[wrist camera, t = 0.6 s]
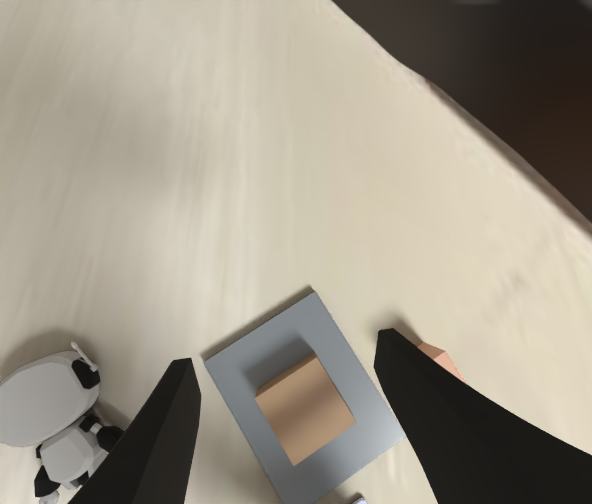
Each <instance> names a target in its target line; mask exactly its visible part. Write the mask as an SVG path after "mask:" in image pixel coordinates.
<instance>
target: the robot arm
mask: <svg viewBox="0 0 592 504" xmlns="http://www.w3.org/2000/svg"><path fill="white" fill-rule="evenodd" d="M374 369H375V372H376V375H377V377H378V380H379V382H380V385H381V387H382V390H383V392H384V394H385V396H386V398H387V400H388V402H389V404H390V406H391V408H392V410H393V411H394V413H395V415H396V417H397V419H398V421H399V423H400V425H401V427H402V428H403V430H404V432H405V434H406V436H407V438H408V440H409V442H410V443H411V445H412V447H413V449H414V451H415V453H416V455H417V457H418V459H419V461H420V463H421V465H422V467H423V470H424V472H425V474H426V477H427V479H428V481H429V483H430V486H431V488H432V490H433V493H434V495H435V497H436V500H437V502H438V504H592V455H590V454H588V453H586V452H584V451H582V450H580V449H578V448H576V447H574V446H572V445H570V444H568V443H566V442H564V441H562V440H560V439H558V438H556V437H554V436H552V435H550V434H549V433H547V432H545V431H543V430H541V429H539V428H538V427H536V426H534V425H532V424H530V423H528V422H527V421H525V420H523V419H521V418H520V417H518V416H516V415H514V414H513V413H511V412H509V411H508V410H506V409H504V408H503V407H501V406H500V405H498V404H496V403H495V402H493V401H491V400H490V399H488V398H487V397H485V396H484V395H482V394H480V393H479V392H477V391H476V390H474V389H473V388H472V387H470V386H469V385H467V384H466V383H464V382H463V381H461V380H460V379H459V378H457V377H456V376H454V375H453V374H452V373H450V372H449V371H447V370H446V369H445V368H443V367H442V366H441V365H439V364H438V363H437V362H435V361H434V360H433V359H432V358H430V357H429V356H428V355H426V354H425V353H424V352H423V351H421V350H420V349H419V348H417V347H416V346H415V345H414V344H412V343H411V342H410V341H409V340H407V339H406V338H405V337H404V336H402V335H401V334H400V333H399V332H397V331H396V330H395V329H393V328H391V329H384V330H379V332H378V339H377V346H376V353H375V360H374ZM200 406H201V392H200V389H199V385H198V381H197V378H196V374H195V370H194V367H193V363H192V359H191V358H185V359H178V360H173V361H172V362H171V364H170V365H169V367H168V368H167V370H166V372H165V373H164V375H163V376H162V378H161V380H160V381H159V383H158V384H157V386H156V387H155V389H154V390H153V392H152V394H151V395H150V397H149V398H148V400H147V401H146V403H145V404H144V405H143V407H142V408H141V410H140V411H139V413H138V414H137V416H136V417H135V419H134V420H133V421H132V423H131V424H130V426H129V427H128V428H127V430H126V431H125V432H124V434H123V435H122V436H121V438H120V439H119V440H118V442H117V443H116V444H115V446H114V447H113V448H112V450H111V451H110V452H109V454H108V455H107V456H106V458H105V459H104V460H103V461H102V463H101V464H100V465H99V467H98V468H97V469H96V470H95V471H94V473H93V474H92V475H91V476H90V478H89V479H88V480H87V481H86V482H85V484H84V485H83V486H82V487H81V488H80V490H79V491H78V492H77V493H76V494H75V496H74V497H73V498H72V499H71V500H70V501H69V502H68V504H184V500H185V495H186V490H187V485H188V479H189V474H190V469H191V464H192V459H193V454H194V448H195V443H196V438H197V432H198V427H199V418H200ZM352 504H368V503H367V502H366V500H365V499H364V498H359V499H358V500H357V501H355V502H354V503H352Z"/></svg>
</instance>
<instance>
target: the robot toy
mask: <svg viewBox="0 0 592 504" xmlns="http://www.w3.org/2000/svg"><path fill="white" fill-rule="evenodd" d="M71 346H72V347H73V348H74V349H76V351H77V352H78V353H77V352H75V351H63V352H59V353H55V354H52V355H49V356H46V357H44V358H41V359H38V360H36V361H33V362H31V363H28V364H26V365H23V366H21V367H19V368H17V369H16V370H15V371H14V372H12V373H11V374H10V375H9V376H7V377H6V378H5V379H4V380H2V381H1V382H0V442H1V443H3V444H6V445H8V446H11V447H27V446H31V445H34V444H37V443H40V442H42V441H45V440H46V441H45V442H44V443H42V444H40V445H39V446H38V447H37V448H36V457H37V458H42V466H41V468H40V470H39V472H38V474H37V476H36V478H35V480H34V485H35V497H41V498H40V500H39V504H56V503H57V502H58V498H59V493H58V491H57V490H56V489H58V488H59V486H60V485H61V484H62V485H63V486H65V487H66V488H67V489H77V488H78V487H79V486H80V485H82V486H83V485H84V484H85V482H86V481H87V480H88V479H89V478H90V476H91V475H92V474H93V473H94V471H95V470H96V469H97V468H98V467H99V465H100V464H101V463H102V461H103V460H104V459H105V458H106V456H107V452H108V453H109V452H110V451H111V450H112V448H113V447H114V446H115V444H116V443H117V442H118V440H119V439H120V438H121V436H122V435H123V434H124V431H123V430H121V429H120V428H118V427H117V426H104V427H103V426H101V425H100V424H98V423H97V422H98V419H99V418H98V417H96V416H94V415H93V414H89V415H88V416H87V417H81V416H82V415H83V414H85V413H86V412H87V411H88V410H89V409H90V407H91V406H92V405H93V404H94V403H95V401H96V399H97V397H98V395H99V393H100V377H99V372H98V371H97V369H98V368H99V367H98V366H97V365H96V364H93V362H92V361H91V360H90V359H89V358H88V357H87V356H86V355H85V354H84V353H83V352H82V351H81V349H80V348H79V347H78V345H77V344H76V343H75V342H71ZM80 417H81V418H80ZM77 419H78V420H77ZM47 439H48V440H47Z"/></svg>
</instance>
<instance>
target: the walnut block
mask: <svg viewBox="0 0 592 504" xmlns="http://www.w3.org/2000/svg"><path fill="white" fill-rule="evenodd" d="M255 400H256V402H257V404H258V405H259V407H260V409H261V411H262V412H263V414H264V416H265V417H266V419H267V421H268V423H269V424H270V426H271V428H272V430H273V431H274V433H275V435H276V437H277V438H278V440H279V442H280V443H281V445H282V447H283V449H284V450H285V452H286V454H287V456H288V457H289V459H290V461H291V463H292V464H293V466H295V465H296V464H298V463H299V462H301V461H302V460H304V459H305V458H307V457H308V456H309V455H311V454H312V453H314V452H315V451H317V450H318V449H319V448H321V447H322V446H324V445H325V444H327V443H328V442H329V441H331V440H332V439H334V438H335V437H337V436H338V435H340V434H341V433H342V432H344V431H345V430H347V429H348V428H350V427H351V426H352V425H354V424H355V423H357V422H356V420H355V418H354V416H353V414H352V412H351V410H350V408H349V407H348V405H347V403H346V402H345V400H344V399H343V397H342V395H341V394H340V392H339V390H338V389H337V387H336V386H335V384H334V382H333V381H332V379H331V377H330V376H329V374H328V372H327V371H326V369H325V368H324V366H323V364H322V363H321V361H320V359H319V358H318V356H317V354H316V353H315V351H314V352H312V353H311V354H309V355H308V356H306V357H305V358H303V359H301V360H300V361H298V362H297V363H295V364H294V365H292V366H291V367H289V368H288V369H286V370H285V371H283V372H282V373H280V374H279V375H277V376H276V377H274V378H273V379H271V380H270V381H268V382H267V383H265V384H264V385H262V386H261V387H259V388H258V389H257V392H256V396H255Z"/></svg>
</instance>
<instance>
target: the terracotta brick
mask: <svg viewBox="0 0 592 504" xmlns="http://www.w3.org/2000/svg"><path fill="white" fill-rule="evenodd" d="M417 348H419V349H420V350H421V351H423V352H424V353H425V354H426V355H428V356H429V357H430V358H432V359H433V360H434V361H435V362H437V363H438V364H439V365H441V366H442V367H443V368H445V369H446V370H447V371H449V372H450V373H452V374H453V375H454V376H456V377H457V378H459V379H460V380H461V381H463V382H464V383H466V381H465V380H464V378H463V377H462V375H461V374H460V372H459V371H458V369H457V368H456V366H455V365H454V363H453V362H452V360H451V359H450V357H449V356H448V354H447V353H446V351H444V350H441V349H439V348H437V347H434V346H432V345H429V344H427V343H424V342H423V343H422V344H420V345H419V346H417ZM466 384H467V383H466ZM467 385H468V384H467Z"/></svg>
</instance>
